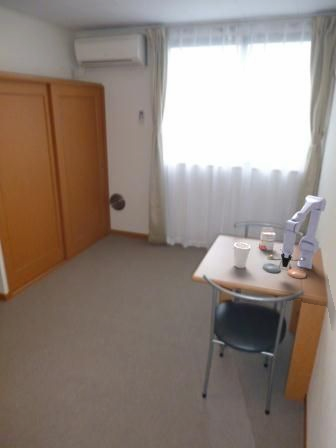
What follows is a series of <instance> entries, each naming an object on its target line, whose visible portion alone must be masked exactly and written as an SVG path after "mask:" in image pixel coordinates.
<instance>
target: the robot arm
mask: <svg viewBox="0 0 336 448" xmlns="http://www.w3.org/2000/svg"><path fill="white" fill-rule="evenodd" d="M326 205H327V200H326V198H325V197H319V196H315V195H311V194H307V196H306V197H305V200H304V205H303V206H302V208H301V209H300V211H297V212H295V214H294V215H293V216H292V217H291V218H290V219H289V220H286V221H285V223H284V225H283V233H284V235H283V236H284V237H283V242H282V243H283V244H282V247H280V248H279V250H280V251H281V252H282V253H281V255H280V258H282V266H283V267H287V265H288V263H289V261H290V260H291V259H293V256H292V254H293V253H294V249H295V244H296V239H297V233H298V232H299V231H300V228H301V227H302V224H303V223H304V222H305V220H306V219H307V215H308V214H309V213H310V212H311V213H310V217H309V222H308V224H307V225H308V226H307V229H306V230H307V231H306V235H304V236H302V237H301V238H300V240H299V243H298V249H299V251H300V255H299V258H300V257H304V258H306V260H304V261H297V265H296V266H297V267H299V268H304V269H309V270H312V266H313V265H312V262H313V258H314V255H315V254H317V252H318V250H319V240H318V239H317V238H316V234H317V229H318V226H319V222H320V221H319V220H320V217H321V214H322V212H324V211H325V209H326ZM290 262H291V261H290Z"/></svg>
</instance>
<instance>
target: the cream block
mask: <svg viewBox="0 0 336 448" xmlns="http://www.w3.org/2000/svg"><path fill="white" fill-rule="evenodd" d="M280 259H281V260H280V262H281V264H280V263H279V266H280V269H281V270H287V271H288V270H289V265H290V263H291V261H289V263H288V265H287V267H283V266H282V257H280ZM290 266H291V265H290Z"/></svg>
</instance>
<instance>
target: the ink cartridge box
mask: <svg viewBox="0 0 336 448" xmlns="http://www.w3.org/2000/svg"><path fill="white" fill-rule="evenodd" d="M274 229H275V228H274V227H268V226H267V227H265V226H264V227H263V226H262V228H261V231H260V238H259V244H258V248H259V249H260V250H261V251H274V245H275V240H276V236H277V235H276V233H275V232H274Z"/></svg>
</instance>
